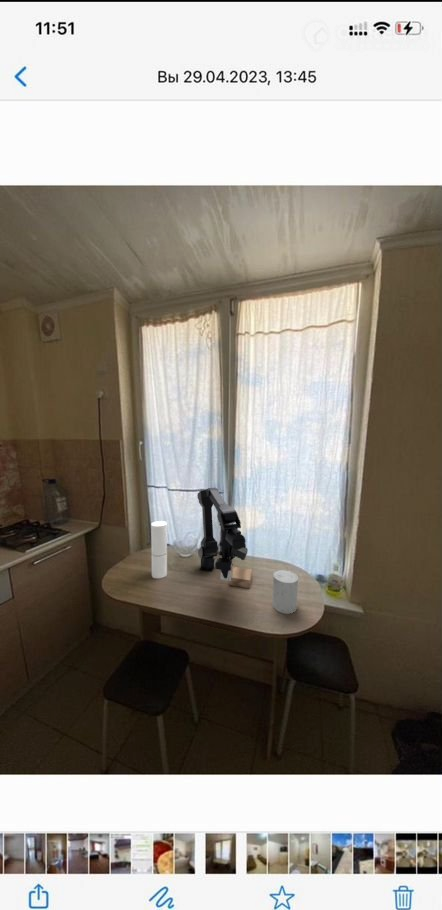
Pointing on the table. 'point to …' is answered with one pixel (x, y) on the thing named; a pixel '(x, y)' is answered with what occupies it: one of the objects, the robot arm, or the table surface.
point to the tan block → (241, 577)
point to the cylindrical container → (159, 549)
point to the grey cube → (230, 574)
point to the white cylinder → (285, 591)
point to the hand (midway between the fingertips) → (226, 574)
